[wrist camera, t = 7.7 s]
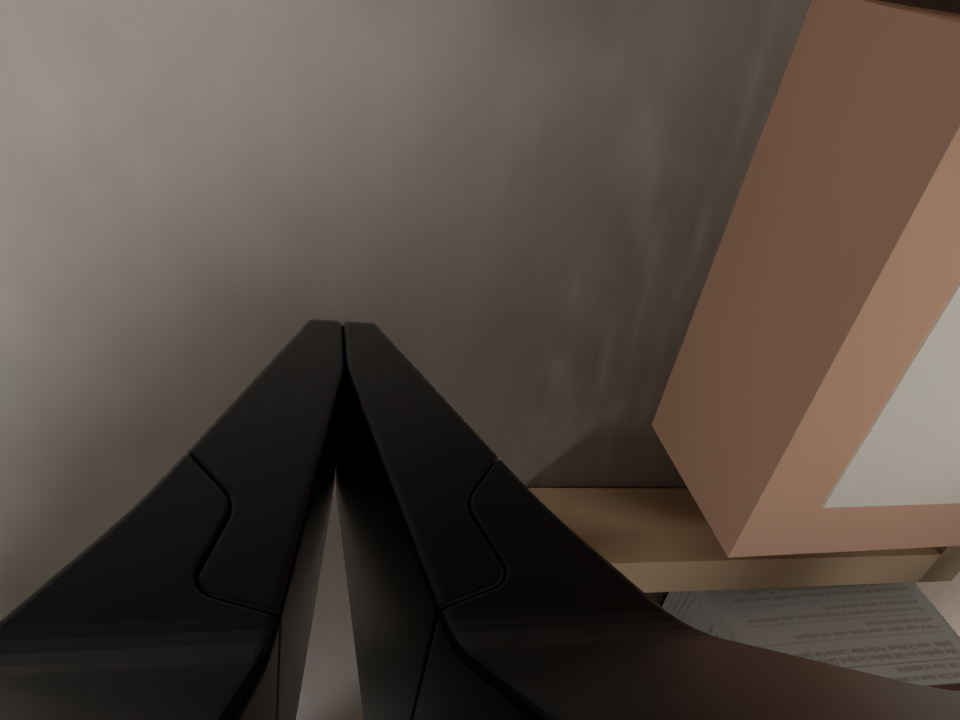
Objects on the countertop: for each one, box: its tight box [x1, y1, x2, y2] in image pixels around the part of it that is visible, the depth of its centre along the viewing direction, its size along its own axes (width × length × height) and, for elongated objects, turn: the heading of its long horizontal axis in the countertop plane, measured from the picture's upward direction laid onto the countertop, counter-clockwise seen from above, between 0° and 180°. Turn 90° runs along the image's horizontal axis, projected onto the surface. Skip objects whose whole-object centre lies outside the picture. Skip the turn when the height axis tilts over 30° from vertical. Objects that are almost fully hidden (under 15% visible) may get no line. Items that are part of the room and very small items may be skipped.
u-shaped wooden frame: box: [528, 488, 960, 593], centre depth 15 cm, size 13×16×2 cm
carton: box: [652, 0, 960, 558], centre depth 14 cm, size 8×10×5 cm
